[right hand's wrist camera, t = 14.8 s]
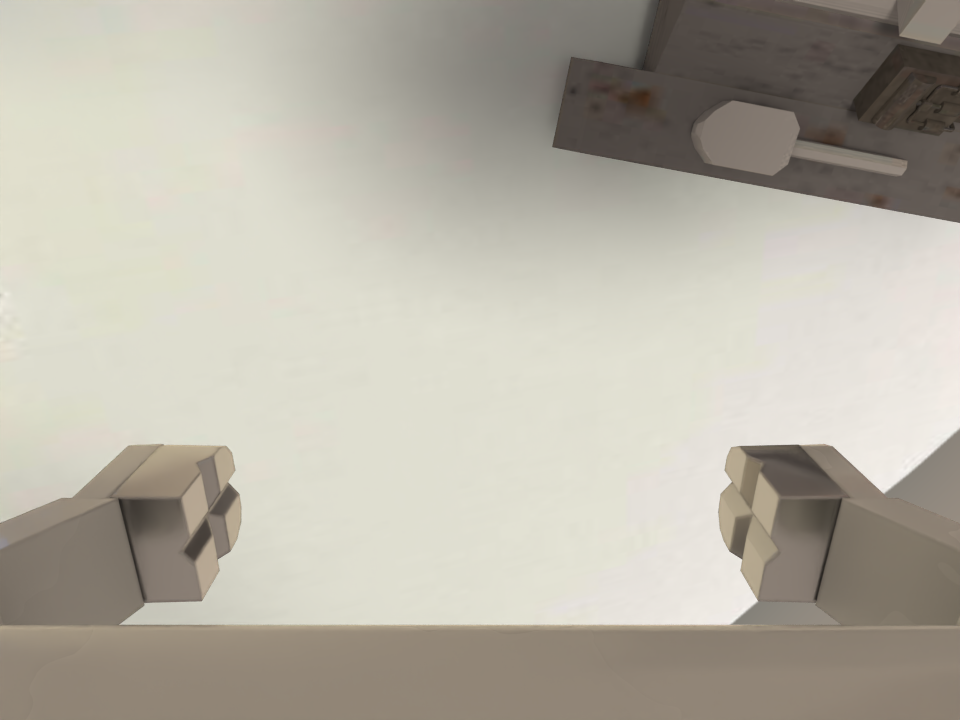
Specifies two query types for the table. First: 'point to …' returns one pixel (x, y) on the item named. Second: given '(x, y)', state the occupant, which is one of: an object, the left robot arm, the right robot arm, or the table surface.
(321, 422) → the table surface
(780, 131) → the toy
